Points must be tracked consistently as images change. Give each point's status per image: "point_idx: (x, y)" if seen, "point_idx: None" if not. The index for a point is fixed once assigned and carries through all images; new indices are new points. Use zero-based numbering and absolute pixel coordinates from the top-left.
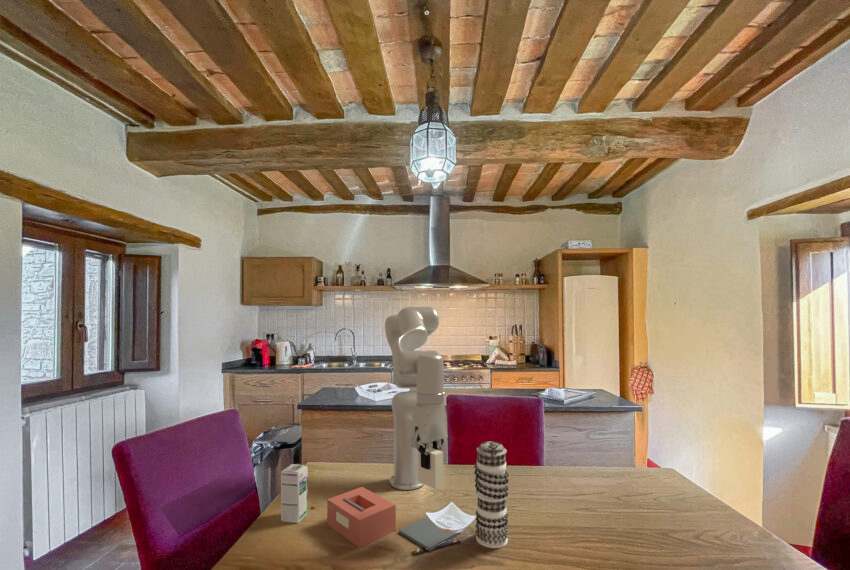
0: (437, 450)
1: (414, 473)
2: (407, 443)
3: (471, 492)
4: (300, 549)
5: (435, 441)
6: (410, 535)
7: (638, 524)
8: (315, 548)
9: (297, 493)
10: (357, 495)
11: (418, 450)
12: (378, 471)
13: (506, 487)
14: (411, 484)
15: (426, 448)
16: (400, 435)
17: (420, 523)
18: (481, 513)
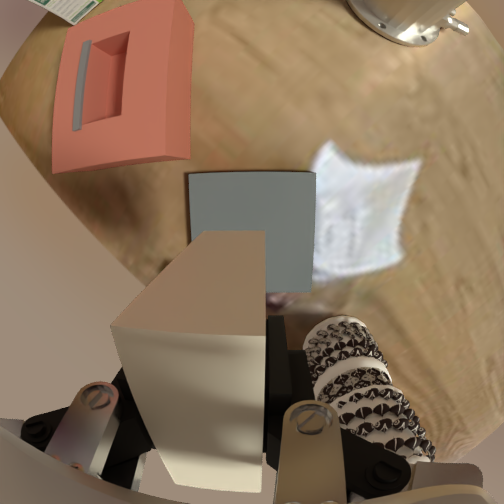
0: (251, 471)
1: (410, 16)
2: None
3: (476, 174)
4: (34, 112)
5: (337, 474)
6: (194, 217)
7: (468, 413)
8: (46, 122)
9: (38, 5)
10: (126, 32)
11: (64, 410)
12: None
13: None
14: (388, 24)
15: (110, 478)
16: None
17: (257, 189)
18: (314, 389)
